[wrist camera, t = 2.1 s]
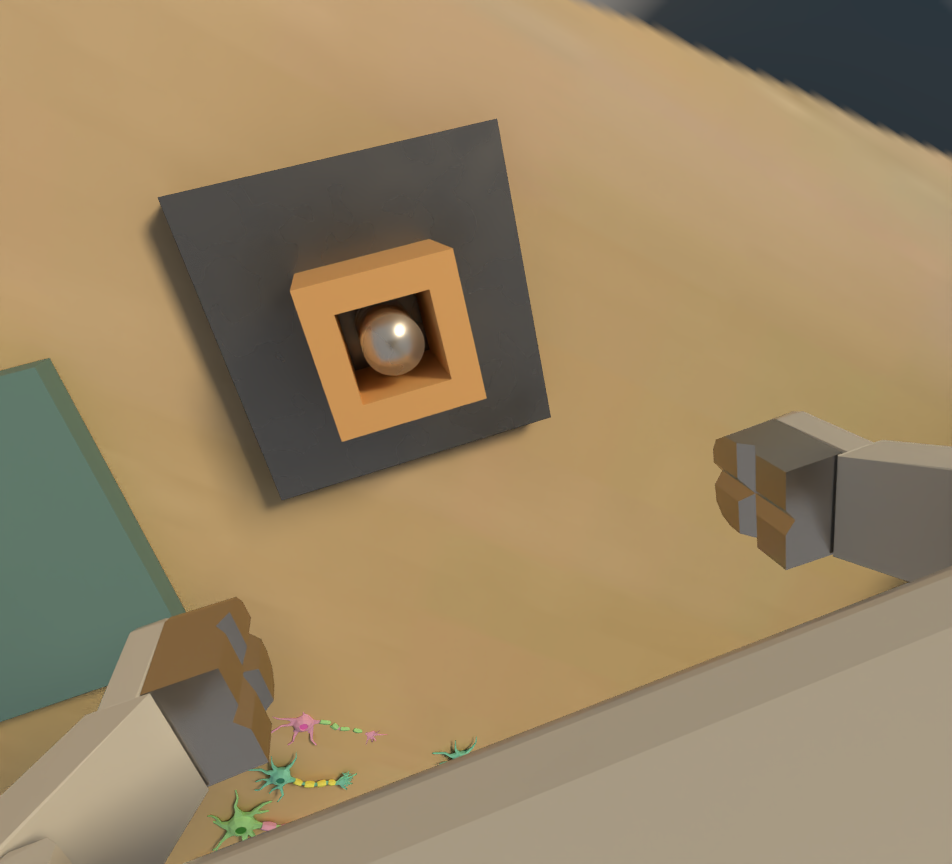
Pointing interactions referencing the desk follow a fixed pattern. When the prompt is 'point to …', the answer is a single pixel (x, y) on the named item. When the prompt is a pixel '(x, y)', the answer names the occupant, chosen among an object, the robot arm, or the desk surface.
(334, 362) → the collar
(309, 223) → the stand
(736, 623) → the desk surface
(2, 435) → the hub plate
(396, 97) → the desk surface
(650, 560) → the desk surface
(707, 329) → the desk surface
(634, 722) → the robot arm
